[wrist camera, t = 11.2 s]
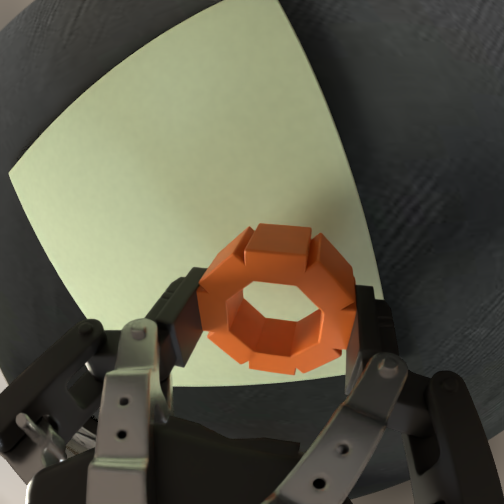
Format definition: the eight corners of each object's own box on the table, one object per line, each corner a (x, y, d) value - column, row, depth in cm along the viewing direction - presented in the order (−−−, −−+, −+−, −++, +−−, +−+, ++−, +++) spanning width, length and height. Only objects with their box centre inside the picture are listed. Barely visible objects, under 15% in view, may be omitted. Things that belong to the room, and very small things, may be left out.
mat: (13, 170, 16) (8, 173, 16) (270, -14, 8) (267, -19, 8) (142, 380, 23) (139, 385, 23) (393, 358, 16) (394, 365, 15)
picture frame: (140, 446, 34) (29, 372, 35) (132, 461, 32) (20, 384, 32) (135, 465, 43) (46, 408, 43) (129, 476, 40) (39, 418, 40)
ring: (221, 328, 15) (206, 361, 13) (211, 218, 12) (187, 244, 10) (340, 344, 13) (339, 380, 11) (362, 231, 11) (368, 261, 9)
